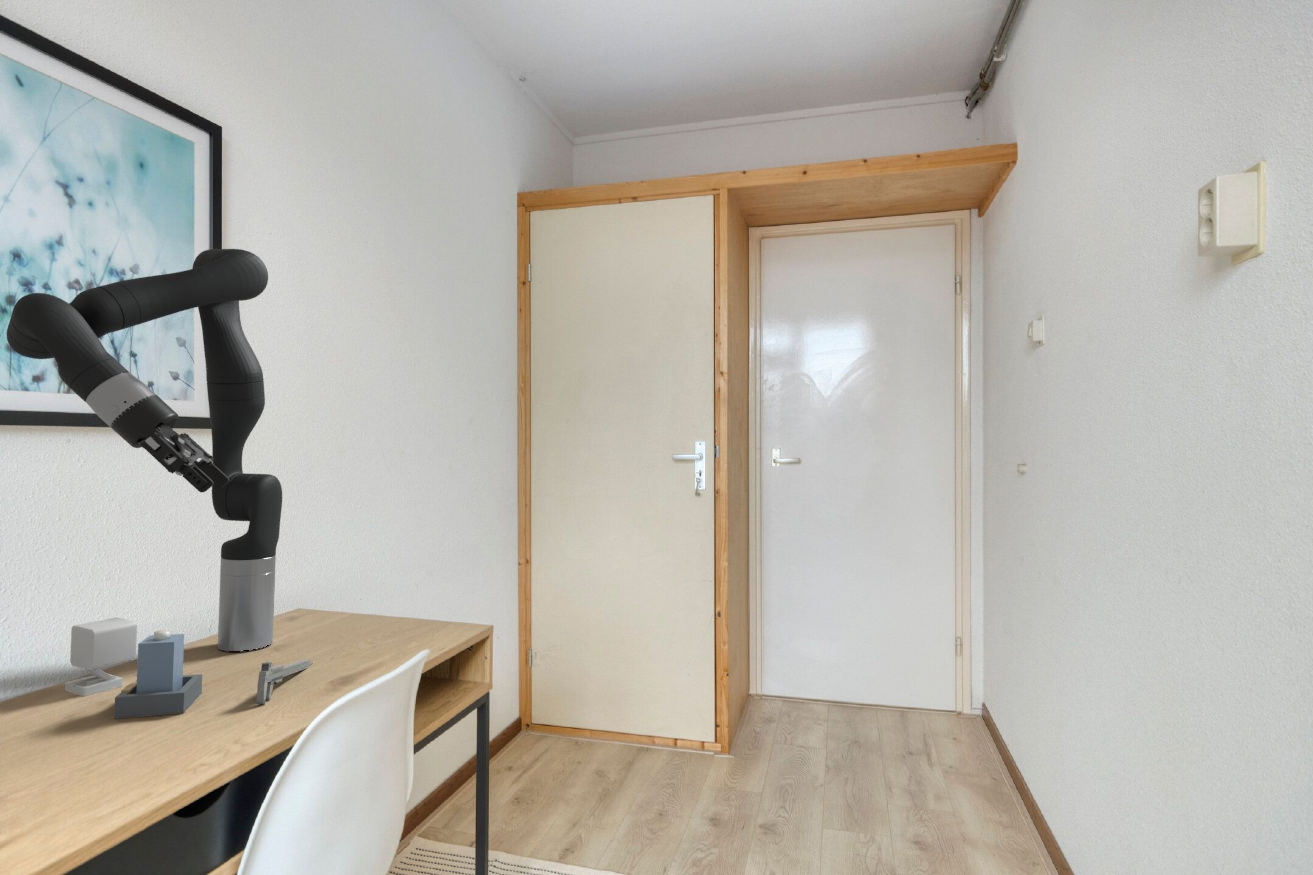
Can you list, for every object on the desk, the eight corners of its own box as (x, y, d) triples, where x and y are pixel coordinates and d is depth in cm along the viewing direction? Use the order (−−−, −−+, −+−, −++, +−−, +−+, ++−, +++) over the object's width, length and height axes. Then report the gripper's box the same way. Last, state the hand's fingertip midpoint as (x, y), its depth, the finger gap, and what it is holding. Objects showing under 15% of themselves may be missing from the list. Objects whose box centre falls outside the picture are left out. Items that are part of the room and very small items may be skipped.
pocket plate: (113, 718, 100) (114, 695, 100) (137, 697, 108) (138, 676, 108) (183, 713, 102) (184, 691, 102) (201, 693, 110) (202, 672, 110)
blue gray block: (135, 712, 102) (138, 636, 102) (147, 701, 106) (150, 628, 106) (171, 709, 103) (174, 635, 103) (181, 698, 108) (184, 627, 108)
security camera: (135, 683, 114) (137, 621, 114) (85, 697, 107) (87, 631, 107) (112, 676, 116) (115, 616, 116) (62, 689, 110) (65, 626, 110)
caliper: (264, 707, 106) (265, 665, 106) (256, 707, 106) (257, 665, 106) (312, 664, 126) (313, 629, 126) (306, 664, 126) (307, 629, 126)
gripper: (135, 390, 100) (224, 472, 103) (170, 396, 113) (248, 468, 117) (89, 426, 98) (181, 508, 101) (130, 427, 112) (210, 499, 115)
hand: (217, 486), depth 109 cm, fingers open, 8 cm apart
